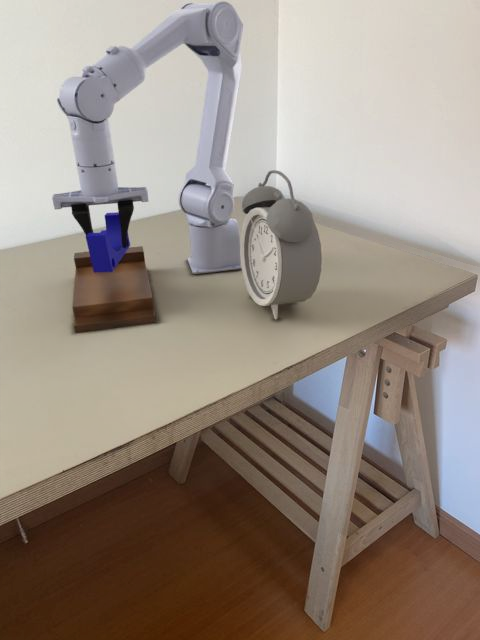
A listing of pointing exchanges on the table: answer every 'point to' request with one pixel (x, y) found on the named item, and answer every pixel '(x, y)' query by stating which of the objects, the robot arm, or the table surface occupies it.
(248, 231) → the alarm clock
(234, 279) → the table surface
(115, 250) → the blue curved notched block
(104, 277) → the step shelf
